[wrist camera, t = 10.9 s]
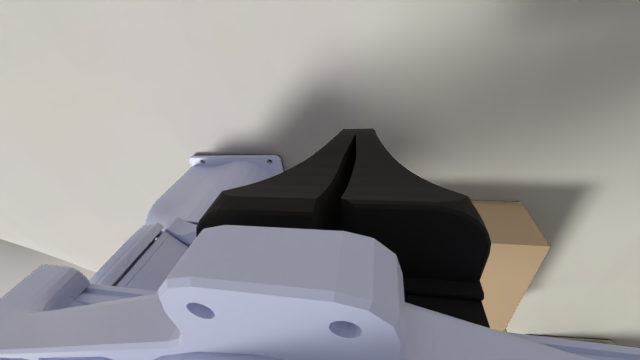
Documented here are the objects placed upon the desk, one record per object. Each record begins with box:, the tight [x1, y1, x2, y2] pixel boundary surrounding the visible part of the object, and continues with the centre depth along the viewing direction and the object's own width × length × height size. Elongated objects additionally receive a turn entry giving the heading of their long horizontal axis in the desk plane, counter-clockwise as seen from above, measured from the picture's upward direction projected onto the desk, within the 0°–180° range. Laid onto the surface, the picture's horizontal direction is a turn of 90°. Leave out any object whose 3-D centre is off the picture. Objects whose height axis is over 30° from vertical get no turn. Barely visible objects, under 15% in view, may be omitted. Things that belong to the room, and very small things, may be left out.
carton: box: [471, 201, 551, 330], centre depth 26 cm, size 14×12×5 cm
